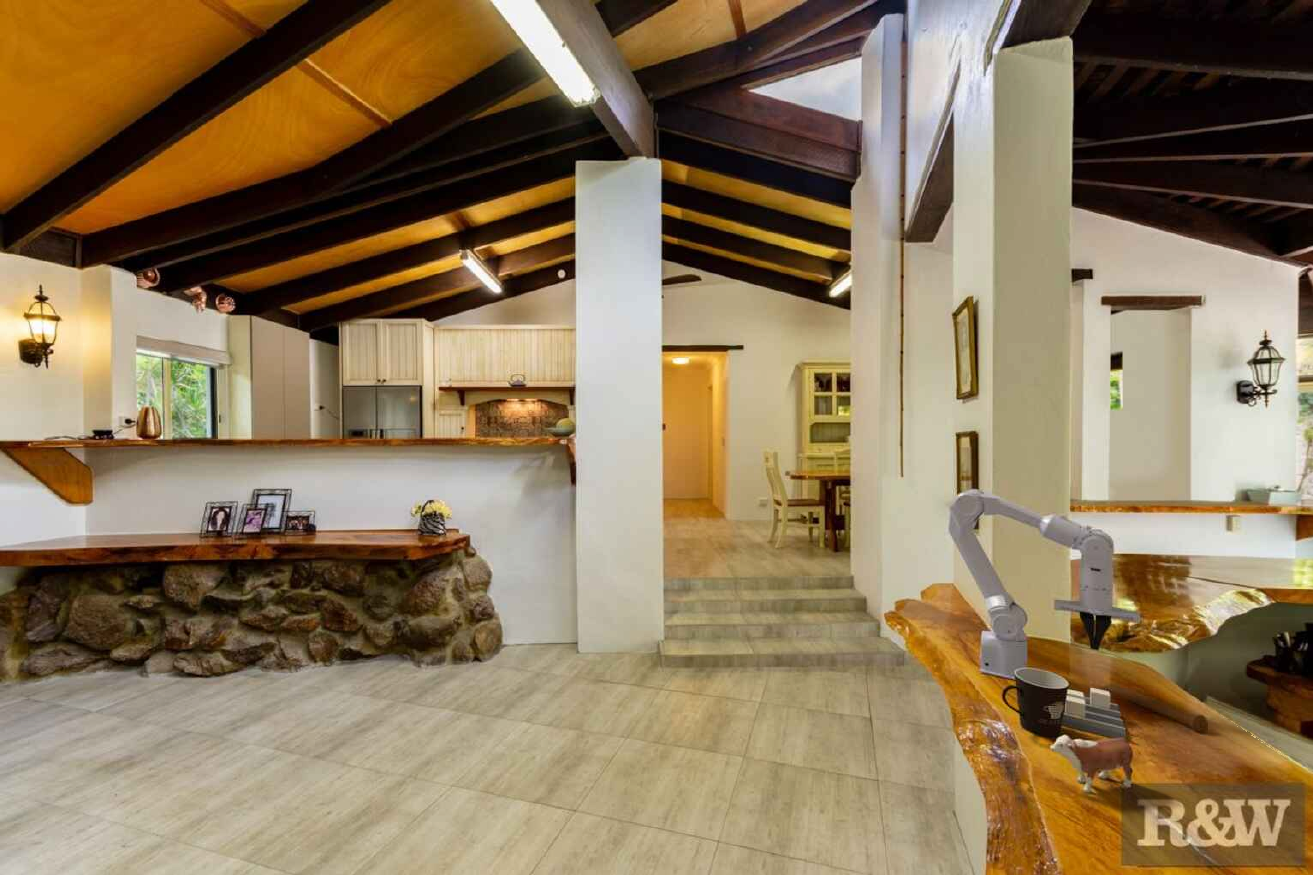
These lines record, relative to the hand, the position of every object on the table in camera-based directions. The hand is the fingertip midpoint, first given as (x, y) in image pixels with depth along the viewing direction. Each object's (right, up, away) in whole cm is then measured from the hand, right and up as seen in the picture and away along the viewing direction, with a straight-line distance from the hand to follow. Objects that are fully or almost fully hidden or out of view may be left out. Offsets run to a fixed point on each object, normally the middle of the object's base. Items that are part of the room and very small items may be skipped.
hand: (1094, 648), depth 119 cm
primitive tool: (+7, -11, -5) cm, 14 cm away
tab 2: (-13, -9, -12) cm, 20 cm away
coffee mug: (-23, -11, -13) cm, 28 cm away
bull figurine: (-24, -11, -30) cm, 40 cm away
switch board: (-9, -10, -10) cm, 17 cm away
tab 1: (-11, -9, -9) cm, 17 cm away
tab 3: (-6, -9, -8) cm, 14 cm away
